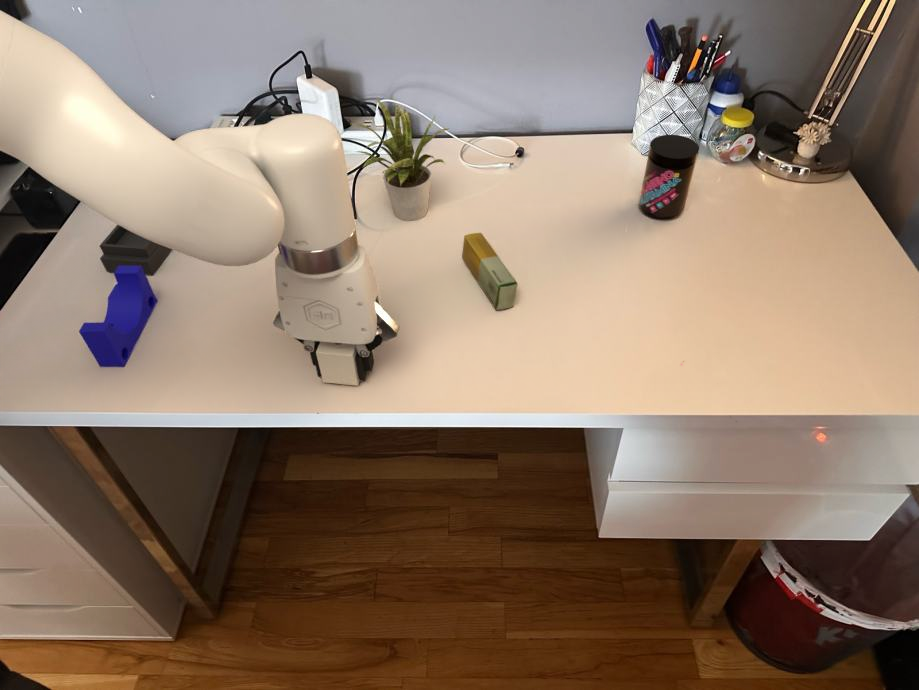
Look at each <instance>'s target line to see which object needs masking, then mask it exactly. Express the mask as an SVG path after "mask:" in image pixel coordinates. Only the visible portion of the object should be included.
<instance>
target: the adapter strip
mask: <svg viewBox="0 0 919 690" xmlns="http://www.w3.org/2000/svg"><path fill="white" fill-rule="evenodd" d="M99 248H100V250H101V251H102V252H101V253H102V255H101V256H100V258H99V259H100V261H101V263H102V265H103V267H104V269H105V271H106V272H107V273H113V274H114V272H115V270H116V269H117V267H118V266H142V269H143V271H144V273H145V275H146V276H155V274H156V273H157V271H158V270H159V268H160V267H161V265H163V263H164V261H165V260H166V259H167V257H168V256H169V254H170V253H171V252H172V251H173V250H172V249H170V248H167V247H165V246H162V245H159V244H157V243H154V242H152V241H150V240H147V239H145V238H143V237H141V236H139V235H137V234H135V233H132V232H130V231H129V230H127V229H125V228H123V227H121V226H120V225H118V224H116V225H115V227H114V228H113V229H112V230H111V231H110V233H109V234H108V235H107V236H106V237H105V238H104V240H103V241H102V242H101V243H100V245H99Z"/></svg>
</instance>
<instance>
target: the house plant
mask: <svg viewBox="0 0 919 690" xmlns="http://www.w3.org/2000/svg"><path fill="white" fill-rule="evenodd" d="M375 101H376V102H377V105H379V107H380V109H381V111H382V113H383V116H384V119H385V122H386V126H387V128H388V130H389V132H390V135H391V137H389V138H388V139H383V138H382V136H380V134H378V133H377V132H376V131H375V130H374V129H373V128H371V127H369V126H368V125H365V124H361V123H351V125H354V126H358V127H362V128H363V129H367V130H370V131H371V132H372V133H373V134H375V136H377V138H378V139H379V140H380V141H381V142H377V141H374V142H371V143H370V144H368V145H366V147H365V149H367V148H370V147H371V150H373V149H374V148H375V149H376V148H381V149H382V150H383V151H384V152H385V153H386V154H387V155H388V156H389V157H390V159H391V160H392V161H393V163H392V161H389V160H388V159H386V158H385V157H380V156H375V155H373V154H372V153H370V152H367V151H361V150H358V151H356V153H360V154H364V155H366V156H369V158H368V159H367V160H366V161H365V162H364V164H363V166H362V169H364V167H367V166H370V165H372V164H376V163H379V164H380V165H382V166H383V167H385V168H387V169H385V170H383V171H382V174H383V177H382V179H383V183H384V186H385V188H386V191H387V194H388V197H389V198H388V199H389V201H390V204H391V208H392V211H393V214H394V217H396V218H397V219H399V220H401V221H406V222H414V221H418V220H420V219H423V218H424V217H425V216H426V215H427V213H428V208H429V200H430V199H429V198H430V189H431V181H432V172H431V170H430V169H429V168H428V167H430V166H431V165H433V164H437V163H443V164H446V162H445V161H444V159H440V158H438V159H437V158H435V157H434V156H433V155H430V154H428V153H427V154H425V153H423V154H422V155H421V156H420V154H421V153H422V151H423V149H424V147H425V146H426V145H428V143H429V142H431V141H432V140H433V138H436V136H437V135H439V134H441V133H443V132H445V131H448V130H449V128H442V129H439V130H437V131H436V132H435V133H434V134H433V135H428V133H429V131H430V129H431V127H432V124H433V122H434V121H435V117H436V116H433V118H432V119H431V121H430V123H429V124H428V126H426V130H425V131H424V133H423V135H422V137H421V139H420V141H419V143H418V145H417V147H416V149H414V145H413V137H412V135H413V133H412V132H413V131H412V123H411V119H410V115H409V114H410V113H408V111H407V110H406V109H405V107H403V109H402V108H401V106H400V105H399V104H398V103H397V105H396V107H395V112H394V122H393V118H392V115H391V113H390V111H389V109H388V108H387V107H386V106H385V104H383V103H382V102H381V101H380V100H378V99H377V98H375ZM401 124H402V125H401ZM376 145H378V146H376ZM381 145H382V146H381ZM372 146H373V147H372ZM430 158H432V159H433V161H431V162H429V163H428V164H427V165H426V166H425V165H423V164H424V163H425V162H426V161H427V159H430ZM385 162H387V163H388V164H390V166H389V165H387V164H385Z"/></svg>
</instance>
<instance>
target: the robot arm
mask: <svg viewBox="0 0 919 690" xmlns="http://www.w3.org/2000/svg"><path fill="white" fill-rule="evenodd" d="M0 152H2V153H5V154H7V155H9V156H11V157H13V158H15V159H17V160H19V161H20V162H21V163H22V164H25V165H27V167H29V168H31V170H33V171H34V172H36V173H37V174H38V175H40V176H41V177H42V178H44V179H45V180H46V181H47V182H49V183H51V184H52V185H54V186H56V187H57V188H58V189H60V190H62V191H63V192H65V193H67V194H68V195H70V196H72V197H74V198H75V199H76V200H78V201H80V202H81V203H82V204H84V205H85V206H87V207H89V208H90V209H92V210H93V211H95V212H96V213H98V214H99V215H101V216H103V217H104V218H105V219H107V220H109V221H111V222H113V223H114V224H116V225H120V226H121V227H123V228H125V229H127V230H129V231H130V232H132V233H135V234H137V235H139V236H141V237H143V238H145V239H147V240H150V241H152V242H154V243H157V244H159V245H162V246H165V247H167V248H170V249H172V250H171V251H176V252H177V253H180V254H183V255H186V256H187V257H191V258H194V259H196V260H199V261H203V262H206V263H208V264H209V263H210V264H213V265H217V266H218V265H219V266H225V267H242V266H243V267H244V266H248V265H252V264H255V263H258V262H259V261H262V260H263V259H265V258H267V257H268V256H269V255H271V254H272V253H273V252H274V250H275V249H276V248H277V249H278V254H277V255H276V257H275V260H274V276H275V277H274V278H275V289H276V297H277V298H276V299H277V304H278V305H277V306H278V312H277V313H276V315H275V316H274V319H273V321H272V325H273V326H274V327H276V328H278V329H280V330H282V331H283V332H285V333H286V334H287V335H288V336H289V337H291V338H293V339H294V340H296V341H297V342H299V343H300V344H302V345H303V349H304V350H305V352H307V353H309V355H310V359H311V363H312V366H313V367H315V369H316V373H317V377H318V378H319V377H321V378H322V375H321V371H320V367H319V363H318V359H317V355H316V351H317V348H318V346H319V344H320V341H321V342H332V343H344V344H354V345H355V347H356V349H357V354H356V357H355V361H356V366H357V372H358V377H359V379H360V381H359V382H366V379H367V376H368V373H369V372H372V371H373V370H374V366H375V358H374V352H373V351H374V350H376V349H377V348H378V347H380V346H381V345H382V343H384V342H388V341H390V340H393V339H395V338H396V337H398V334H399V330H400V325H399V324H398V323H397V322H396V321H395V320H394V319H393V317H391V316H390V315H389V314H388V313H387V311H385V310H384V309H383V306H382V300H381V296H380V290H379V286H378V282H377V278H376V275H375V272H374V269H373V266H372V264H371V261H370V257H369V256H368V253H367V251H366V249H365V248H364V246H363V245H360V244H359V240H358V235H357V228H356V222H355V216H354V215H355V214H354V209H353V202H352V196H351V189H350V183H349V176H348V170H347V163H346V157H345V151H344V145H343V139H342V136H341V133H340V131H339V129H338V127H337V126H336V125H335V124H334V123H333V122H332V121H331V120H330V119H328V118H326V117H323V116H321V115H318V114H315V113H292V114H287V115H282V116H280V117H277V118H274V119H272V120H270V121H268V122H267V123H264V124H256V125H241V126H225V127H224V126H223V127H210V128H202V129H196V130H192V131H188V132H186V133H185V134H182V135H180V136H178V137H177V138H176V139H174V140H172V139H171V138H170V137H168V136H166V135H165V134H164V133H162V132H161V131H159V130H158V129H157V128H155V127H154V126H152V124H150V123H149V122H148V121H146V120H145V119H144V118H143V117H142V116H140V115H139V114H138V113H137V112H136V111H134V110H133V109H132V108H131V107H130V106H129V105H128V104H126V103H125V102H124V101H123V99H121V98H120V97H119V96H118V95H117V94H116V93H115V91H113V89H112V88H110V86H109V85H108V84H107V83H106V82H105V80H103V79H102V78H101V77H100V75H99V74H98V73H96V71H94V70H93V69H92V67H91V66H89V64H87V63H86V62H85V61H84V60H82V59H81V58H80V57H79V56H78V55H76V53H74V52H73V51H72V50H70V49H69V48H68V47H66V46H65V45H64V44H62V43H61V42H59V41H57V40H56V39H54V38H53V37H50V36H49V35H47V34H45V33H43V32H42V31H40V30H37V29H36V28H33V27H32V26H30V25H28V24H26V23H24V22H23V21H21V20H19V19H17V18H15V17H14V16H11V15H10V14H9V13H6V12H4V11H3V10H1V9H0Z"/></svg>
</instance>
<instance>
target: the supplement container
mask: <svg viewBox="0 0 919 690" xmlns="http://www.w3.org/2000/svg"><path fill="white" fill-rule="evenodd" d="M699 152H700V146H699V144H698V143H697V142H696V141H695V140H693V139H691V138H690V137H687V136H684V135H679V134H663V135H658V136H656V137H654V138H653V139H651V141H650V143H649V148H648V153H647V159H646V164H645V169H644V175H643V180H642V185H641V191H640V196H639V201H638V205H639V209H640V210H641V212H642V213H643V214H644V215H645V216H647V217H648V218H651V219H654V220H658V221H669V220H674V219H676V218H678V217H680V216H681V215H682V214H683V213H684V211H685V207H686V203H687V201H688V196H689V191H690V187H691V183H692V179H693V175H694V170H695V167H696V164H697V160H698V156H699Z"/></svg>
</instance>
